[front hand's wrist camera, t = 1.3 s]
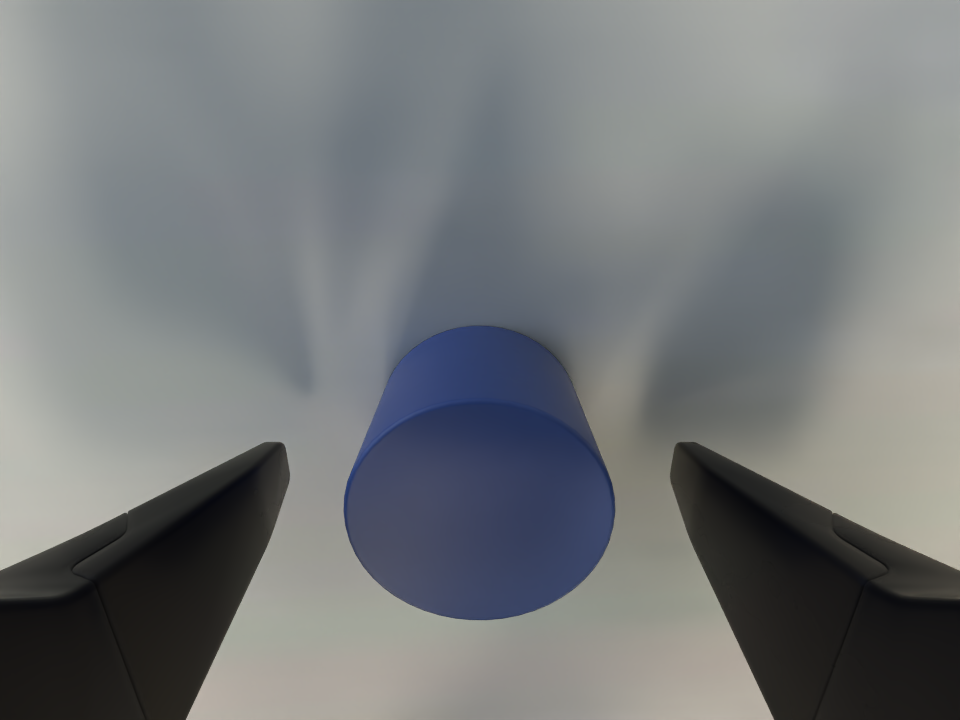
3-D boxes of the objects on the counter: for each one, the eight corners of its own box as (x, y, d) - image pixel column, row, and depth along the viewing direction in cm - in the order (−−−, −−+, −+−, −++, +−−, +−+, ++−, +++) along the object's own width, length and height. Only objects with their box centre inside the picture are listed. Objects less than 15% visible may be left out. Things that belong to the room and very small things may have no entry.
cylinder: (576, 493, 14) (610, 616, 10) (394, 502, 14) (363, 627, 11) (578, 318, 12) (623, 392, 9) (369, 330, 12) (319, 407, 9)
